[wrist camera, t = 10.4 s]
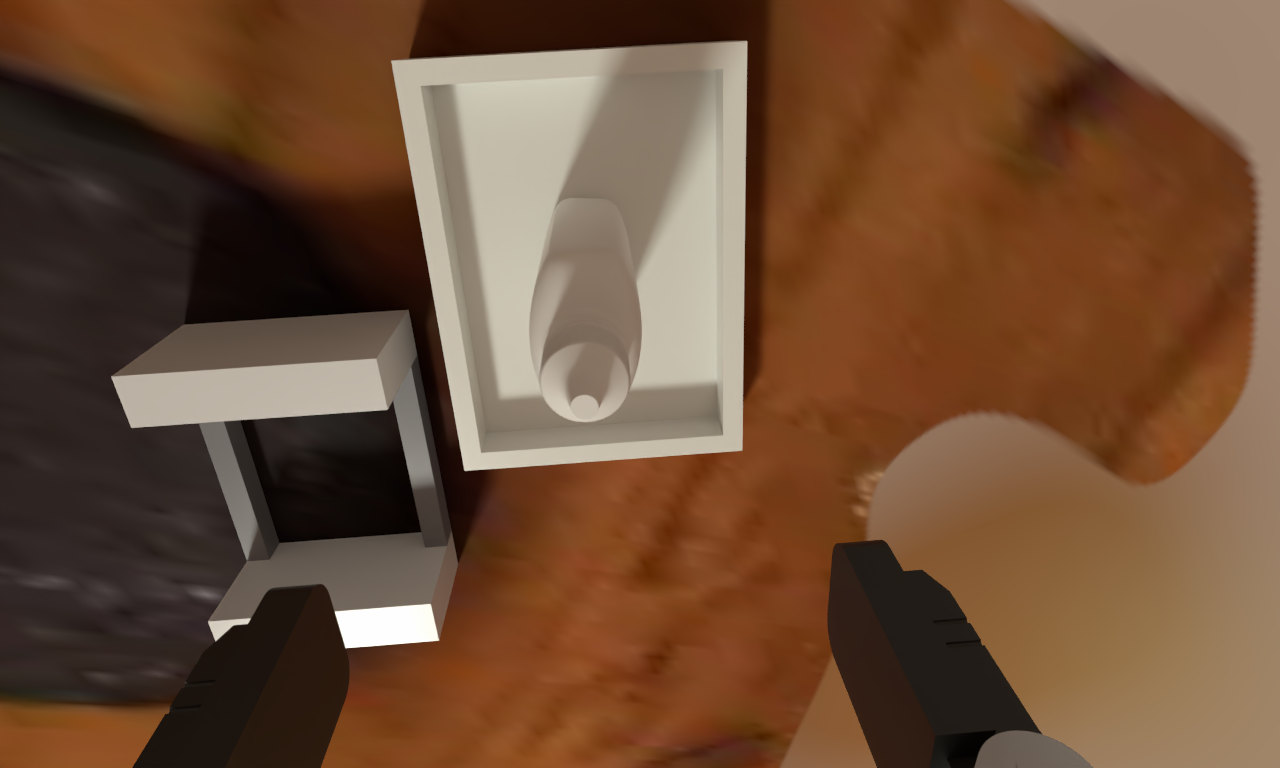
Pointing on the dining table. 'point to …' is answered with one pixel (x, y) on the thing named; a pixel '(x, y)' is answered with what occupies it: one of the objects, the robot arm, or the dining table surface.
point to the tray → (585, 168)
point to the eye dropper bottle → (585, 312)
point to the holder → (298, 386)
